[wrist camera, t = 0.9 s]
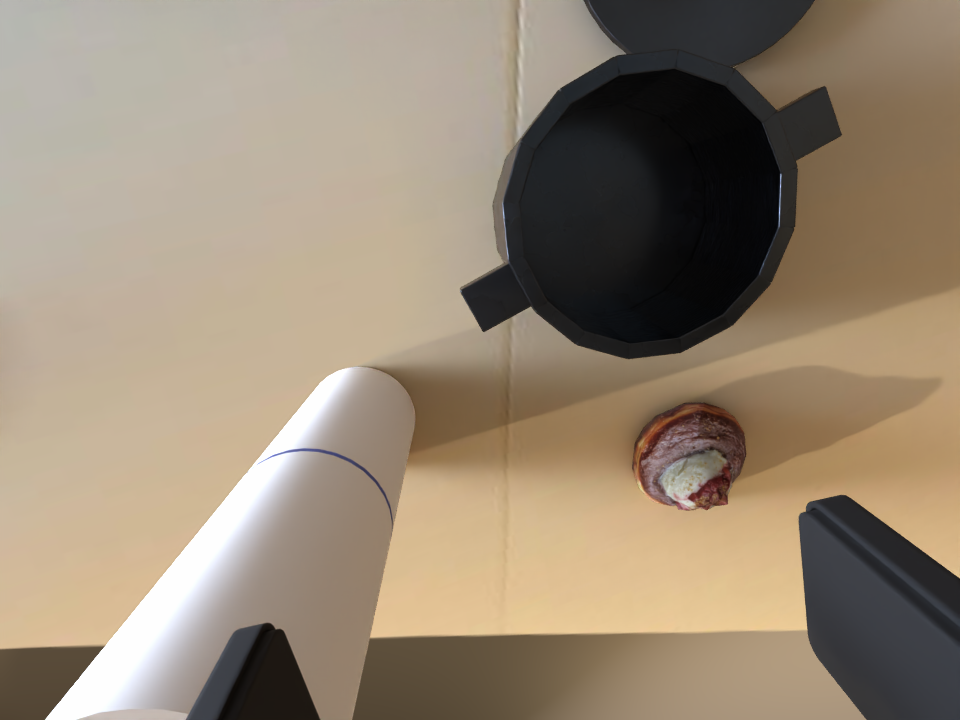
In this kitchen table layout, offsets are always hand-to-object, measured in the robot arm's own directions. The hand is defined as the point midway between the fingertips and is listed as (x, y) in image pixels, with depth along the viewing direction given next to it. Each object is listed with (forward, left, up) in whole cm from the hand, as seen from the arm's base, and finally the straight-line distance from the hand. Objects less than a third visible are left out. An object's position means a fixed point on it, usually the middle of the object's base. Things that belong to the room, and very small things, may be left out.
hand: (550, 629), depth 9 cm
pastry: (+14, +8, -26) cm, 31 cm away
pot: (-3, +10, -26) cm, 28 cm away
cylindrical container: (+1, -10, -26) cm, 28 cm away
